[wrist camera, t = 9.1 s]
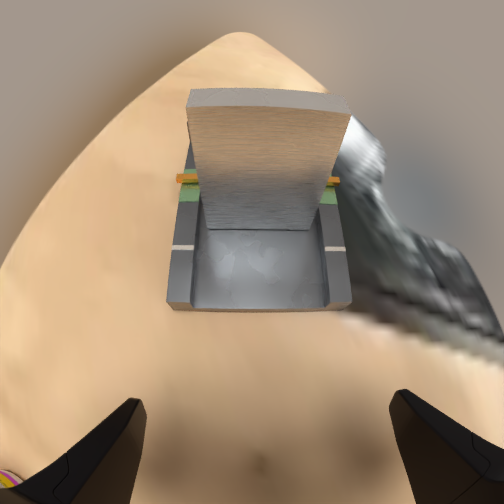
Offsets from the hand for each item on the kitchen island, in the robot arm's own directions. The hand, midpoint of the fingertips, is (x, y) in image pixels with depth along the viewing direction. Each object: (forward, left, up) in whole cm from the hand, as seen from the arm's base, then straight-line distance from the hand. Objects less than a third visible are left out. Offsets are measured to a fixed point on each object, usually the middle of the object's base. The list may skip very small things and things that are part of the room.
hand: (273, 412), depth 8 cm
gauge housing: (+10, -9, -8) cm, 16 cm away
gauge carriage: (+10, -8, -7) cm, 15 cm away
